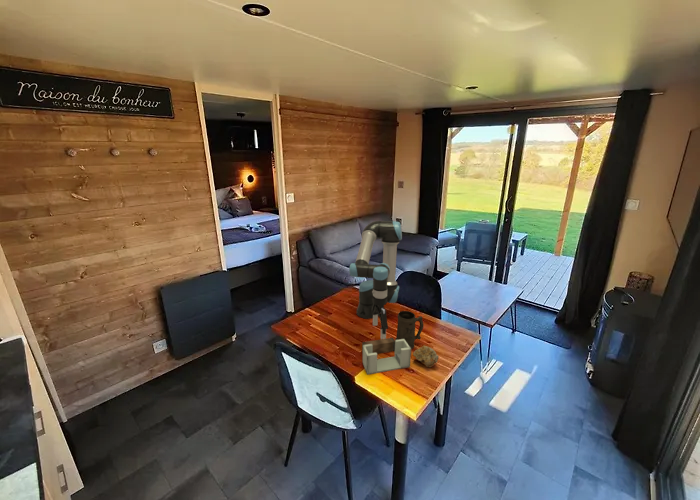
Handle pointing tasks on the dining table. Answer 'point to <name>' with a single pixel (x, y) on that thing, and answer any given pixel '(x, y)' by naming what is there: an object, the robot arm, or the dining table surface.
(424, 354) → the rock
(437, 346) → the dining table surface
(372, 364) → the post bracket
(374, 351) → the rail
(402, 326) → the beer stein
